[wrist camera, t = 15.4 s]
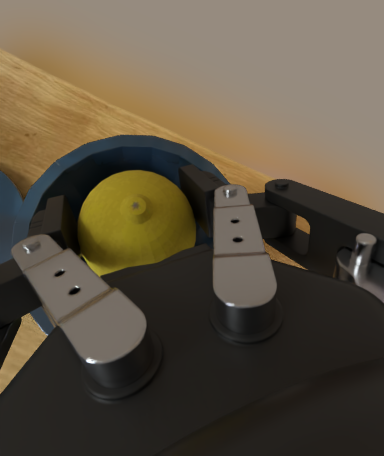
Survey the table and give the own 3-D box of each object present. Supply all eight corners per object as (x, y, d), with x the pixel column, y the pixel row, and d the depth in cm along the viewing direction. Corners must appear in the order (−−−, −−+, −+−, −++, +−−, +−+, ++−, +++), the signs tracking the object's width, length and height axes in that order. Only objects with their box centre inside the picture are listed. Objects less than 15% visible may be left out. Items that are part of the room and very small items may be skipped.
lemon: (117, 194, 18) (97, 115, 11) (196, 226, 19) (231, 171, 11) (78, 274, 17) (21, 247, 9) (165, 308, 17) (181, 309, 9)
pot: (61, 347, 22) (-3, 378, 13) (68, 196, 25) (22, 131, 16) (217, 333, 24) (263, 352, 15) (206, 195, 27) (238, 137, 18)
